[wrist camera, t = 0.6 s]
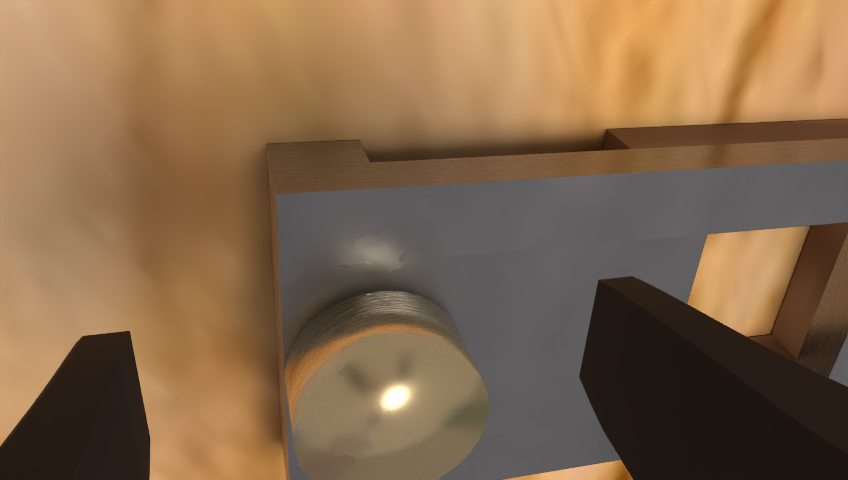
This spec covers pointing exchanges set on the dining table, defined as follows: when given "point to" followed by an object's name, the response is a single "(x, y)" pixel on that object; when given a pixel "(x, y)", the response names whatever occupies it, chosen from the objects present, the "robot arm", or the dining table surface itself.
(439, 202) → the metal link
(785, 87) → the dining table surface
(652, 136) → the walnut link
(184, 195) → the dining table surface
